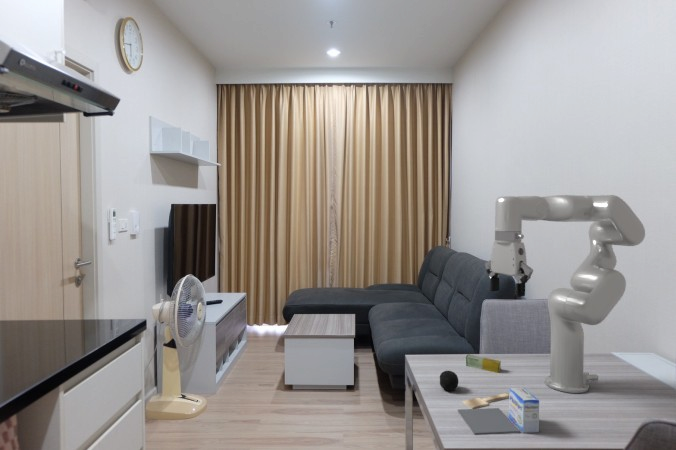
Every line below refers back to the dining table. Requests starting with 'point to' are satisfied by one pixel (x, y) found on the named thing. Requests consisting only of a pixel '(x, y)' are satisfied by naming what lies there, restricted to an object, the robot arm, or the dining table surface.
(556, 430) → the dining table surface
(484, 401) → the wooden turner
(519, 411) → the medicine box
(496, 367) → the medication box
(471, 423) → the mat
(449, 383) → the billiard ball
